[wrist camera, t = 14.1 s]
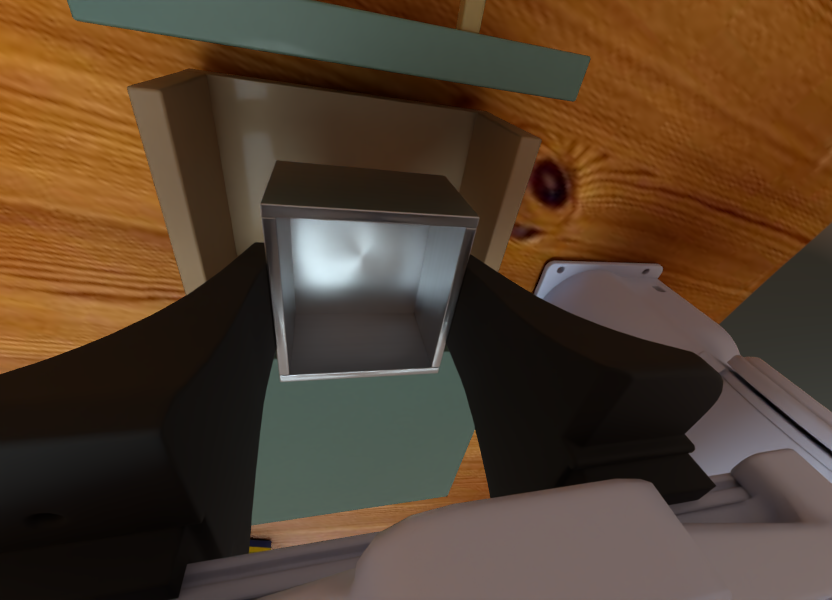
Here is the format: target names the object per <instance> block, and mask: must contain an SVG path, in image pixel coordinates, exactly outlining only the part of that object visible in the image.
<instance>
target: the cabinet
mask: <svg viewBox="0 0 832 600" xmlns="http://www.w3.org/2000/svg"><path fill="white" fill-rule="evenodd" d="M474 430H475V426H474V422H473V418H472V415H471V411H470V408H469V404H468V400H467V397H466V393H465V390H464V387H463V384H462V382H461V379H460V376H459V374H458V371H457V369H456V367H455V364H454V362H453V359H452V357H451V354H450V352H449V349H448V347H447V345H445V348H444V352H443V356H442V359H441V363H440V367H439V371H438V373H431V374H413V375H396V376H378V377H361V378H343V379H326V380H308V381H291V382H280V378H279V369H278V360H277V351H275V355H274V360H273V364H272V368H271V372H270V377H269V381H268V385H267V389H266V395H265V400H264V406H263V414H262V422H261V431H260V440H259V449H258V459H257V468H256V478H255V489H254V499H253V510H252V522H251V525H257V524H264V523H271V522H277V521H284V520H291V519H297V518H304V517H311V516H317V515H324V514H331V513H337V512H344V511H351V510H358V509H364V508H371V507H378V506H384V505H391V504H398V503H404V502H411V501H418V500H424V499H431V498H438V497H445V496H447V495H448V493H449V491H450V488H451V486H452V483H453V481H454V478H455V476H456V474H457V471H458V469H459V466H460V464H461V462H462V459H463V457H464V454H465V452H466V449H467V447H468V445H469V442H470V440H471V437H472V435H473V432H474Z"/></svg>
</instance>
